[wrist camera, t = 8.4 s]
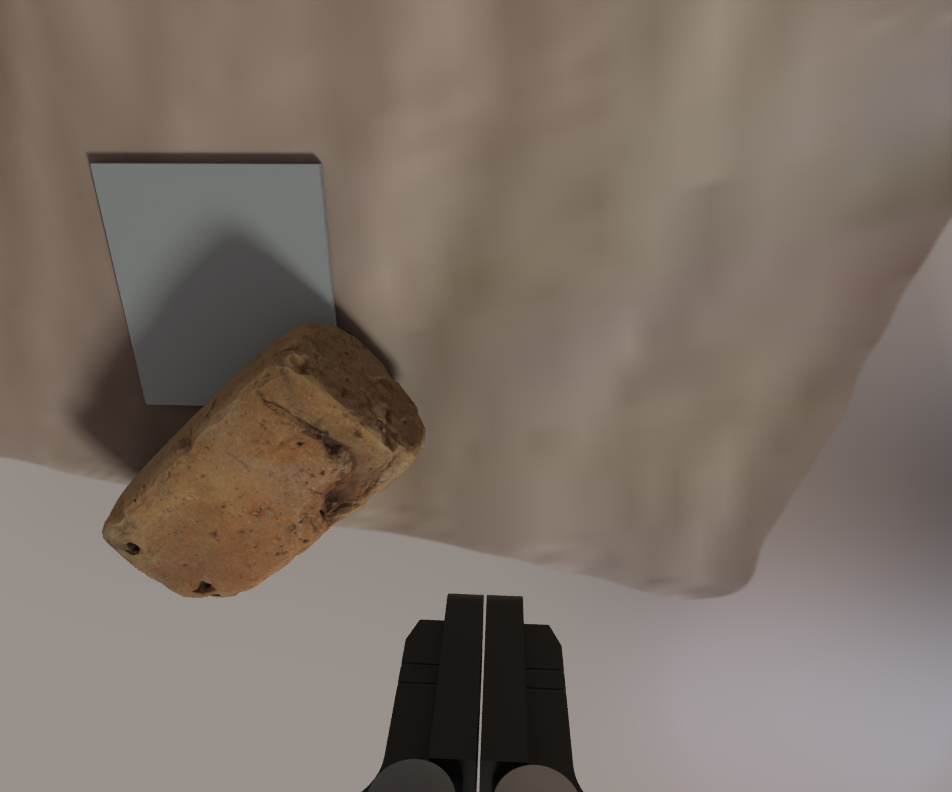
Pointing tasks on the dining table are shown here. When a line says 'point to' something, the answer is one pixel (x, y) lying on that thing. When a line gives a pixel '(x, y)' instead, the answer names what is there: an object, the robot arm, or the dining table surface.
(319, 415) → the brown rounded piece
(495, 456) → the dining table surface
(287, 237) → the mat
